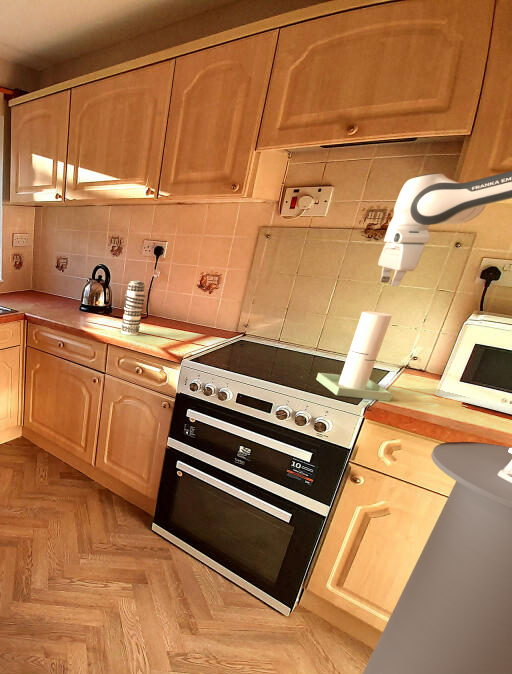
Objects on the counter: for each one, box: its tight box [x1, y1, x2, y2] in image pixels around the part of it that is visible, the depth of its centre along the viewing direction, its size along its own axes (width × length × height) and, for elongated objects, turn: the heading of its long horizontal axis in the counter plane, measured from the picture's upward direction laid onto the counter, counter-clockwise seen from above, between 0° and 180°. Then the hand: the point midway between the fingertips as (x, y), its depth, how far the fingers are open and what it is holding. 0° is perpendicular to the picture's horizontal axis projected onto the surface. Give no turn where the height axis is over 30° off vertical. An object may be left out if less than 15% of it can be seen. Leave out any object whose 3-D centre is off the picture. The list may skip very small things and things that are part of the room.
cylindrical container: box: [338, 310, 393, 390], centre depth 136 cm, size 7×7×25 cm
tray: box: [315, 372, 394, 402], centre depth 140 cm, size 16×15×3 cm
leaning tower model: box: [120, 279, 146, 336], centre depth 203 cm, size 9×9×25 cm
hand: (388, 284), depth 128 cm, fingers open, 8 cm apart
